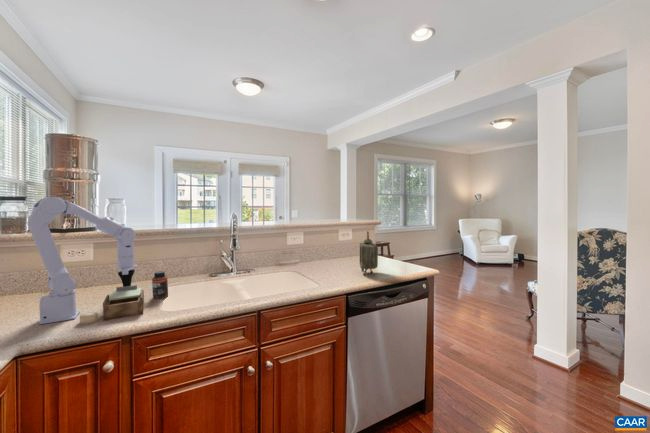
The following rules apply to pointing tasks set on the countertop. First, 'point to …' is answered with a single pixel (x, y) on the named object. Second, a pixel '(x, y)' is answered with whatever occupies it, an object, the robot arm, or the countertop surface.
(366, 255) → the green suitcase
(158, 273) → the supplement bottle
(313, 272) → the countertop surface
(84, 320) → the beige square block
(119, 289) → the lid
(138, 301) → the box
